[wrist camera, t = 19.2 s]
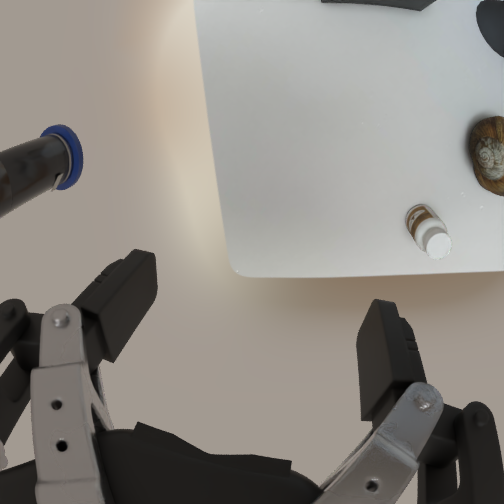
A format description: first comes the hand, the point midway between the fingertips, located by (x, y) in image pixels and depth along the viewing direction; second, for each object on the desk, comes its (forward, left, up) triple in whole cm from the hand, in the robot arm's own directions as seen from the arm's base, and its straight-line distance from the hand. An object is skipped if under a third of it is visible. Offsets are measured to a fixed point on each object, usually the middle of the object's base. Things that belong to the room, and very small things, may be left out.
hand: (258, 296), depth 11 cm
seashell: (+26, +7, -28) cm, 39 cm away
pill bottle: (+18, -5, -28) cm, 34 cm away
